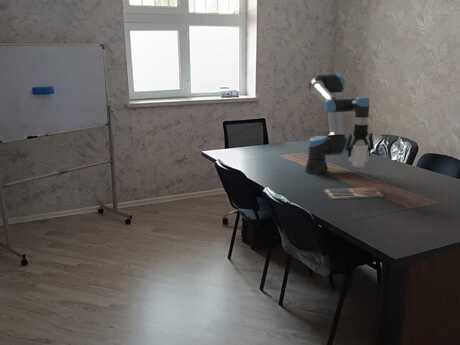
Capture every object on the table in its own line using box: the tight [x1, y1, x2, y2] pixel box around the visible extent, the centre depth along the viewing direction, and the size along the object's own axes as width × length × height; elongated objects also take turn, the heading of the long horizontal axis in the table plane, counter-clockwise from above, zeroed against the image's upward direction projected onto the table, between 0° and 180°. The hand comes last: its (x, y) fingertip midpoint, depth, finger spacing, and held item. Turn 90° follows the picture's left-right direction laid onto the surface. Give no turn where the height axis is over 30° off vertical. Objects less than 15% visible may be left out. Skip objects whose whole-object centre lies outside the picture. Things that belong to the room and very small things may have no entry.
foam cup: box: [351, 142, 369, 168], centre depth 256 cm, size 10×9×13 cm
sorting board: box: [323, 186, 384, 200], centre depth 245 cm, size 15×29×1 cm, turn 94°
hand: (358, 161), depth 257 cm, fingers closed on foam cup, 9 cm apart
